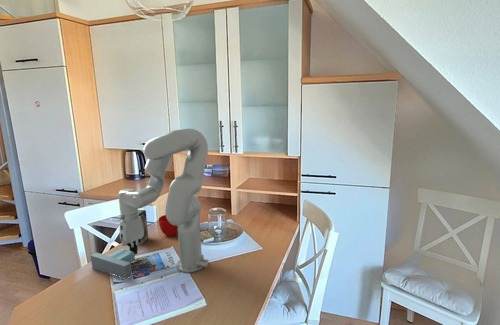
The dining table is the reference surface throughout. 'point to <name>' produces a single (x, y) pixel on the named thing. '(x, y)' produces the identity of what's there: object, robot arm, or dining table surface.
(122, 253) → the block
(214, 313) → the dining table surface
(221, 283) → the dining table surface
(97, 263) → the board
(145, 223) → the coffee box
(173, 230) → the ceramic cup
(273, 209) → the dining table surface
